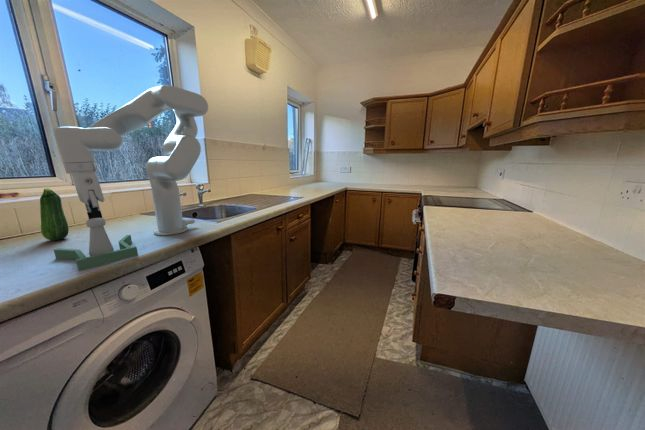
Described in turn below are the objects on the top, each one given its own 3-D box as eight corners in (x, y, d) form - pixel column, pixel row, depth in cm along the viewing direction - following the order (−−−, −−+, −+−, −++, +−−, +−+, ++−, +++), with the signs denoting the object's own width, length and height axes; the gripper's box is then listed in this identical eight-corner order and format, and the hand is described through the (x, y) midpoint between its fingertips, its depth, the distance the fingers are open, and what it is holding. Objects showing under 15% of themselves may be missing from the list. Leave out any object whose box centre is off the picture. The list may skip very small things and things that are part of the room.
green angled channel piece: (131, 241, 93) (130, 234, 93) (148, 253, 82) (147, 244, 82) (55, 258, 78) (53, 249, 77) (64, 274, 67) (61, 264, 67)
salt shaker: (99, 263, 74) (91, 221, 71) (85, 261, 76) (76, 220, 73) (119, 256, 80) (112, 217, 77) (106, 254, 81) (98, 215, 78)
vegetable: (56, 237, 99) (44, 187, 94) (76, 236, 99) (64, 187, 95) (38, 243, 91) (23, 189, 87) (59, 242, 92) (46, 189, 88)
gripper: (102, 167, 77) (117, 223, 82) (91, 166, 86) (105, 216, 91) (69, 169, 71) (87, 229, 76) (61, 168, 80) (77, 221, 85)
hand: (96, 222), depth 84 cm, fingers closed
